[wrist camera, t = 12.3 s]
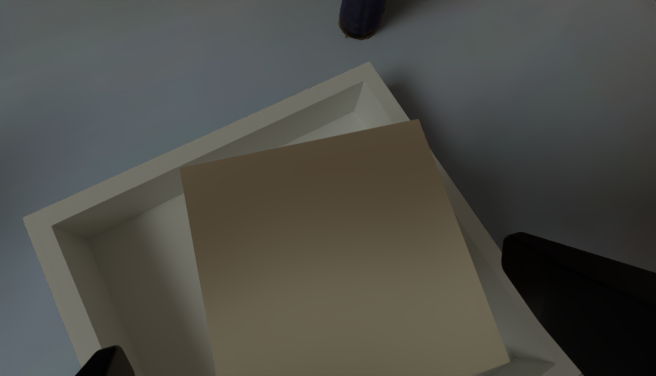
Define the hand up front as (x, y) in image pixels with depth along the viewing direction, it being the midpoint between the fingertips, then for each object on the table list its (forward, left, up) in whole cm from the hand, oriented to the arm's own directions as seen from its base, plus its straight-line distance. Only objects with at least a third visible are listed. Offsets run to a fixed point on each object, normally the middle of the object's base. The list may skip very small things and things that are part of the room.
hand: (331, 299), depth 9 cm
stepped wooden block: (+1, 0, -9) cm, 9 cm away
